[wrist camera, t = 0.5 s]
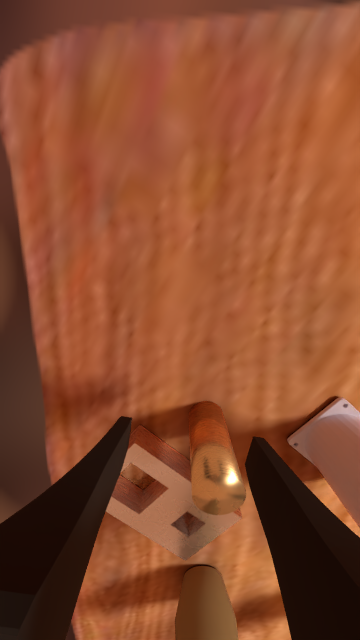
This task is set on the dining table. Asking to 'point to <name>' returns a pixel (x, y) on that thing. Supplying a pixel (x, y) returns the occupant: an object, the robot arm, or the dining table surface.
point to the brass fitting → (213, 462)
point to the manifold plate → (165, 499)
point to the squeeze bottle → (204, 607)
